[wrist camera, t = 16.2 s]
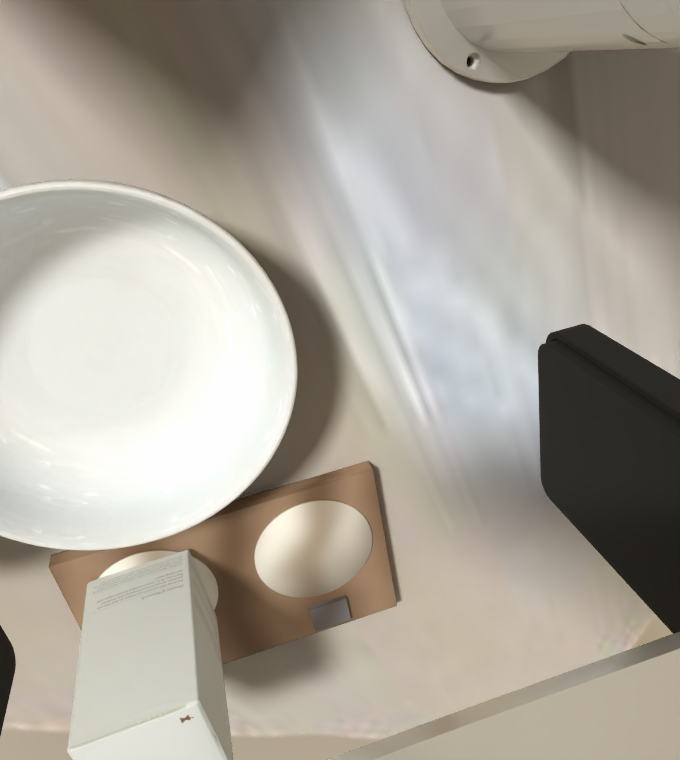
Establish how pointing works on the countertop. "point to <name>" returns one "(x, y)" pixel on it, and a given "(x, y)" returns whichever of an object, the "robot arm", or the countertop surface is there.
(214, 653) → the supplement box
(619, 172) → the countertop surface
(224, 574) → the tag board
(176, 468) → the serving bowl
